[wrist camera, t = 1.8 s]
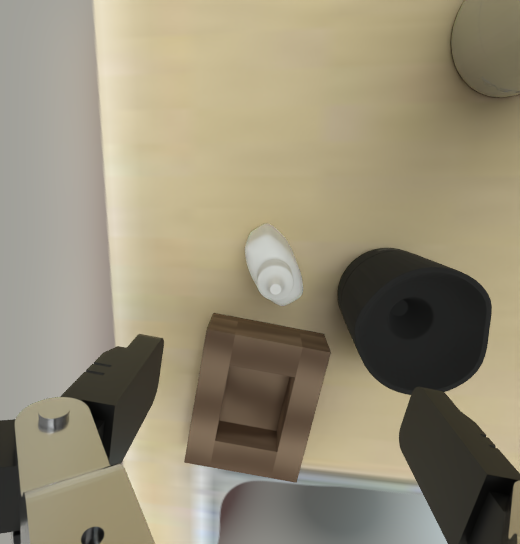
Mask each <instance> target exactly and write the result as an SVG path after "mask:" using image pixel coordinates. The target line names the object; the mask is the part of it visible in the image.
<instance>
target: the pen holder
mask: <svg viewBox="0 0 520 544" xmlns="http://www.w3.org/2000/svg"><path fill="white" fill-rule="evenodd" d="M338 302H339V307H340V310H341V313H342V315H343V318H344V321H345V323H346V325H347V328H348V330H349V332H350V334H351V337H352V339H353V341H354V344H355V346H356V348H357V350H358V353H359V355H360V357H361V359H362V361H363V363H364V365H365V366H366V368H367V369H368V371H369V372H370V373H371V374H372V376H373V377H374V378H375V379H376V380H378V381H379V382H380V383H381V384H383V385H384V386H386V387H388V388H390V389H392V390H394V391H397V392H400V393H404V394H409V395H411V394H412V392H413V390H414V389H415V388H416V387H423V388H428V389H434V390H439V391H443V392H446V391H449V390H451V389H453V388H456V387H458V386H459V385H461V384H463V383H464V382H466V381H467V380H468V379H470V378H471V377H472V376H473V375H474V374H475V373H476V372H477V371H478V369H479V367H480V366H481V364H482V362H483V360H484V357H485V354H486V349H487V344H488V336H489V327H490V320H491V309H492V306H491V300H490V298H489V296H488V293H487V292H486V290H485V289H484V288H483V287H482V286H481V285H480V284H479V283H478V282H477V281H476V280H474V279H473V278H471V277H470V276H468V275H466V274H464V273H462V272H460V271H457V270H455V269H452V268H449V267H447V266H444V265H442V264H439V263H436V262H434V261H431V260H429V259H426V258H423V257H421V256H418V255H415V254H412V253H409V252H406V251H403V250H400V249H394V248H380V249H375V250H372V251H369V252H367V253H365V254H363V255H361V256H359V257H358V258H357V259H355V260H354V261H353V262H352V263H351V264H350V265H349V266H348V267H347V269H346V270H345V272H344V274H343V275H342V277H341V280H340V283H339V287H338Z"/></svg>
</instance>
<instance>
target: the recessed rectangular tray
mask: <svg viewBox="0 0 520 544" xmlns="http://www.w3.org/2000/svg"><path fill="white" fill-rule="evenodd" d="M330 353H331V352H330V349H329V347H328V344H327V341H326V338H325V336H324V334H321V333H316V332H311V331H306V330H300V329H295V328H290V327H284V326H279V325H274V324H269V323H263V322H258V321H253V320H248V319H242V318H237V317H232V316H227V315H221V314H216V313H214V314H213V316H212V318H211V321H210V323H209V325H208V328H207V331H206V337H205V343H204V349H203V355H202V361H201V367H200V373H199V379H198V385H197V390H196V396H195V402H194V408H193V414H192V420H191V426H190V432H189V438H188V444H187V450H186V456H185V461H184V462H185V463H191V464H196V465H202V466H207V467H213V468H218V469H224V470H230V471H235V472H241V473H246V474H252V475H257V476H263V477H268V478H274V479H280V480H285V481H291V482H297V478H298V475H299V471H300V467H301V463H302V459H303V456H304V452H305V448H306V444H307V441H308V437H309V433H310V429H311V425H312V422H313V418H314V414H315V410H316V406H317V403H318V399H319V395H320V391H321V387H322V384H323V380H324V376H325V372H326V368H327V365H328V361H329V357H330Z"/></svg>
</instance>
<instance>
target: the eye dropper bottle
mask: <svg viewBox="0 0 520 544" xmlns="http://www.w3.org/2000/svg"><path fill="white" fill-rule="evenodd" d="M245 256H246V262H247V266H248V269H249V272H250V275H251V277H252V279H253V281H254V282H255V284H256V285H257V287H258V289H259V290H258V291H259V292H260V293H261V294H262V295H263V296H264V297H265V298H266V299H267V298H268V299H270V300H271V301H272V302H274V303H276V304H277V305H280V306H284V305H287V304H289V303H291V302H293V301H295V300H297V299H298V298H300V297H301V295H302V293H303V282H302V276H301V273H300V269H299V267H298V264H297V261H296V258H295V255H294V253H293V250H292V248H291V246H290V244H289V243H288V241H287V240H286V238H285V237H284V236H283V234H282V233H281V232H280V231H279V230H278V229H276V228H275V227H274V226H272V225H271V224H268V223H266V224H263V225H261V226H259V227H258V228H256V229H254V230H253V231H251V233H250V234H249V236H248V239H247V242H246V246H245Z"/></svg>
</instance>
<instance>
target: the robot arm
mask: <svg viewBox="0 0 520 544" xmlns="http://www.w3.org/2000/svg"><path fill="white" fill-rule="evenodd" d="M451 46H452V56H453V59H454V63H455V66H456V69H457V70H458V72H459V74H460V76H461V77H462V79H463V80H464V81H465V82H466V83H467V84H468V85H469V86H470V87H471V88H473V89H474V90H476V91H477V92H479V93H482V94H485V95H487V96H491V97H509V96H515V95H518V94H520V0H465V1H464V2H463V4H462V6H461V8H460V10H459V12H458V14H457V16H456V19H455V23H454V26H453V31H452V40H451ZM163 347H164V340H163V338H158V337H153V336H147V335H142V334H139V335H138V336H137V337H136V338H135V339H134V340H133V341H132V343H131V344H130V345H129V346H128V347H127V348H124V347H119V346H117V347H115V348H113V349H111V350H109V351H106V352H104V353H103V354H102V355H101V356H100V357H99V358H98V359H97V360H96V361H95V362H94V364H92V365H91V366H90V367H89V368H88V369H87V370H86V372H84V373H83V374H82V375H81V376H80V377H79V378H78V379H77V381H75V382H74V383H73V384H72V385H71V386H70V387H69V388H68V389H67V390H66V392H64V393H63V395H62V396H61V397H55V398H49V399H44V400H41V401H38V402H35V403H33V404H31V405H29V406H28V407H26V408H25V409H23V410H22V411H21V412H20V413H19V414H18V416H17V417H16V419H14V420H2V421H0V533H7V532H11V538H12V544H155V542H154V540H153V537H152V535H151V532H150V530H149V527H148V525H147V522H146V520H145V517H144V515H143V512H142V510H141V508H140V505H139V503H138V500H137V498H136V495H135V493H134V490H133V488H132V485H131V483H130V480H129V478H128V475H127V473H126V471H125V468H124V467H123V465H122V464H121V463H122V461H123V459H124V457H125V455H126V453H127V451H128V449H129V447H130V446H131V444H132V442H133V440H134V438H135V436H136V434H137V432H138V430H139V428H140V427H141V425H142V423H143V421H144V419H145V417H146V415H147V413H148V411H149V410H150V408H151V406H152V404H153V401H154V399H155V396H156V392H157V388H158V383H159V376H160V368H161V361H162V354H163ZM399 443H400V448H401V451H402V453H403V455H404V457H405V459H406V461H407V463H408V465H409V467H410V469H411V471H412V473H413V475H414V477H415V479H416V481H417V483H418V485H419V487H420V489H421V491H422V493H423V495H424V497H425V499H426V500H427V503H428V505H429V506H430V509H431V511H432V513H433V515H434V517H435V519H436V521H437V523H438V524H439V526H440V528H441V531H442V533H443V535H444V537H445V538H446V541H447V543H448V544H520V473H519V472H518V471H517V470H516V469H515V468H514V467H513V465H512V464H511V463H510V462H509V461H508V460H507V459H506V457H505V456H504V455H503V454H502V453H501V452H500V450H499V449H497V448H495V445H494V444H493V442H492V441H491V440H490V439H489V438H488V437H486V434H485V433H484V432H483V431H482V430H481V429H480V427H479V426H478V425H477V424H476V423H475V422H474V421H473V420H471V419H470V418H469V417H467V416H466V415H465V414H463V413H462V412H461V411H460V410H459V409H458V408H457V407H456V406H455V404H454V403H453V402H452V401H451V400H450V399H449V397H448V396H447V395H446V394H445V393H444V392H443V391H439V390H434V389H428V388H423V387H416V388H415V389H414V390H413V392H412V394H411V397H410V400H409V403H408V406H407V409H406V412H405V415H404V418H403V421H402V425H401V428H400V432H399Z"/></svg>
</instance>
